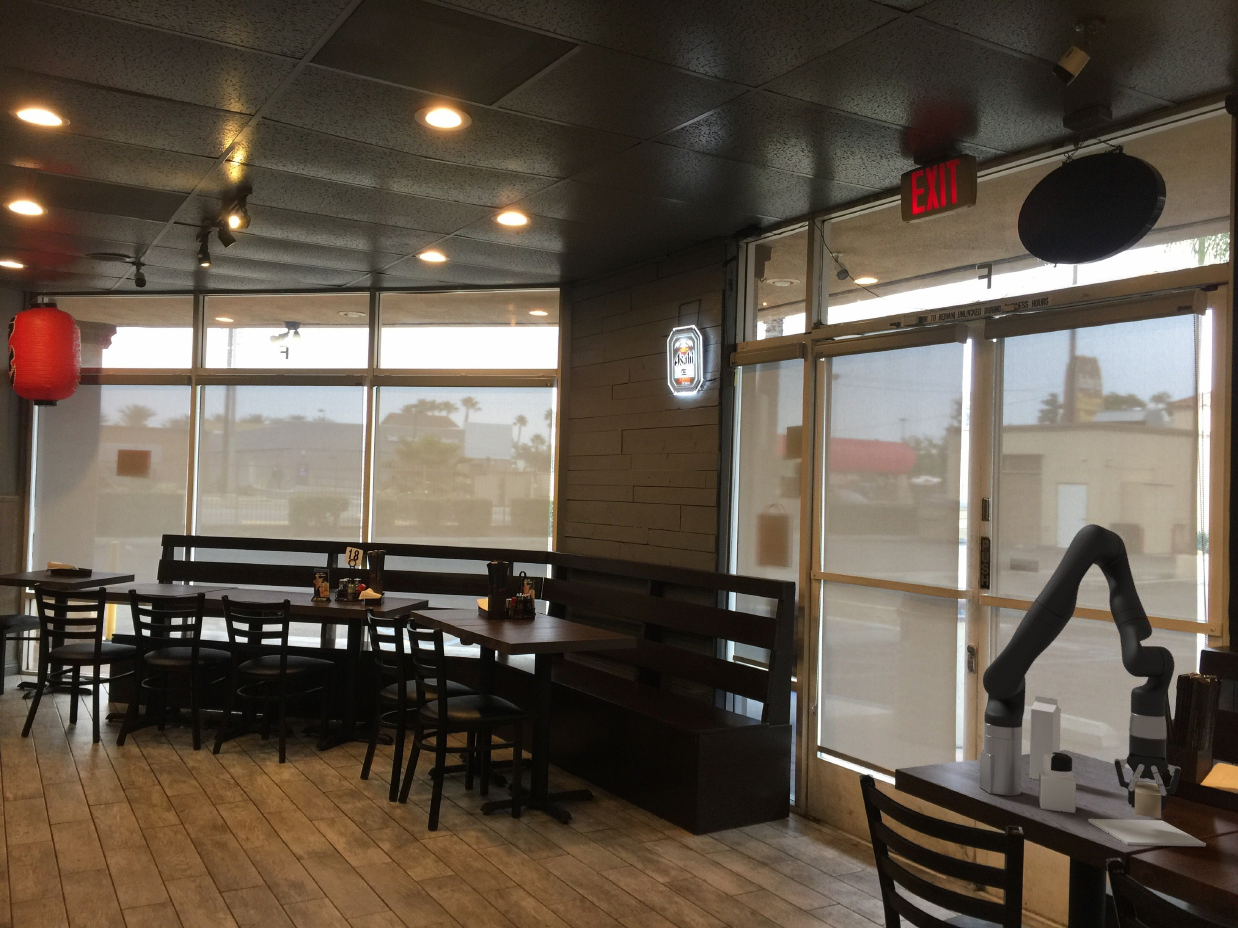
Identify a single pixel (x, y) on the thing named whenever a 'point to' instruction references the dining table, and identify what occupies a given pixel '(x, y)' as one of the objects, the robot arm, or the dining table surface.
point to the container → (1057, 783)
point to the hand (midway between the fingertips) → (1146, 808)
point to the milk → (1043, 732)
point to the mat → (1146, 832)
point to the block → (1147, 799)
